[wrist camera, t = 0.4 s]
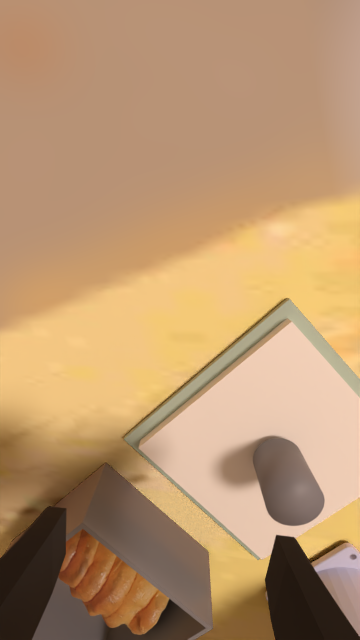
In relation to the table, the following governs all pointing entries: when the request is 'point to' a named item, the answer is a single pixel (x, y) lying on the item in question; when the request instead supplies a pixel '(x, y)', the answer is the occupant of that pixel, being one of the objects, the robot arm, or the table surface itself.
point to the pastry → (110, 585)
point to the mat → (223, 362)
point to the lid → (266, 441)
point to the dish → (131, 563)
